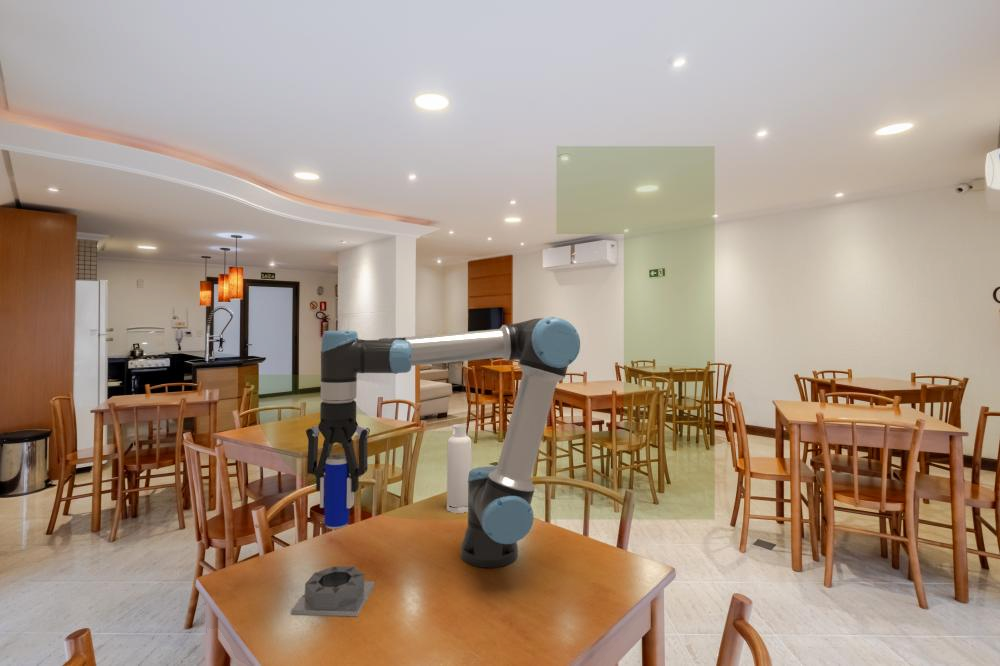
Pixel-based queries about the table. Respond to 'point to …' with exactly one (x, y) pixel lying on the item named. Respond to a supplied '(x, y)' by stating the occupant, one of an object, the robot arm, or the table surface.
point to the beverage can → (336, 492)
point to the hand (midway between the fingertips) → (337, 505)
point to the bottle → (458, 469)
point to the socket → (334, 593)
